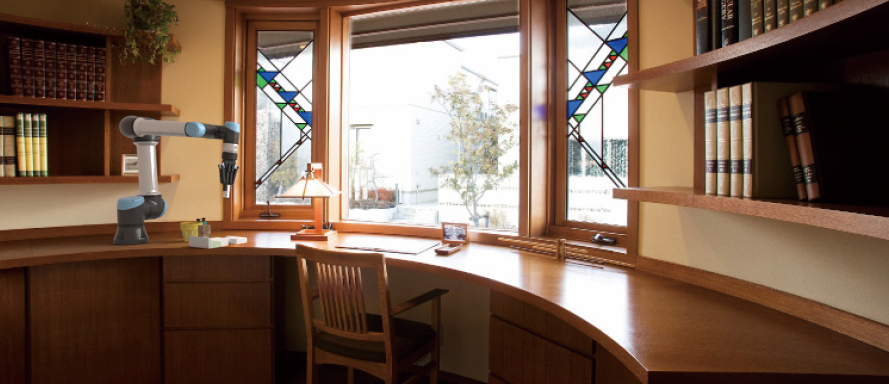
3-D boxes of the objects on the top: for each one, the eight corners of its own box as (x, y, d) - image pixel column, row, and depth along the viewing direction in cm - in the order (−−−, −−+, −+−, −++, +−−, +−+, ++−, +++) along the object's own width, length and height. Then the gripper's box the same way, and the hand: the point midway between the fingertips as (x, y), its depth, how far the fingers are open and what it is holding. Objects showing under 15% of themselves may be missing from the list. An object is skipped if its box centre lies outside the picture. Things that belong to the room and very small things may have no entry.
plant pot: (206, 240, 267) (206, 221, 266) (195, 243, 256) (194, 223, 256) (188, 239, 268) (187, 221, 267) (175, 242, 257) (175, 223, 257)
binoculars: (193, 218, 285) (209, 216, 283) (195, 236, 285) (211, 235, 284) (183, 219, 276) (199, 218, 274) (185, 238, 276) (201, 237, 275)
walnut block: (205, 240, 248) (204, 224, 247) (210, 241, 246) (210, 225, 246) (197, 241, 244) (197, 225, 244) (203, 242, 242) (203, 225, 242)
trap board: (227, 240, 266) (227, 231, 266) (247, 242, 260) (246, 232, 260) (189, 246, 246) (188, 236, 245) (208, 248, 239) (208, 238, 239)
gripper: (226, 151, 253) (222, 197, 253) (244, 153, 265) (240, 198, 265) (214, 150, 255) (210, 196, 255) (233, 152, 267) (228, 196, 267)
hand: (225, 197), depth 260 cm, fingers closed
